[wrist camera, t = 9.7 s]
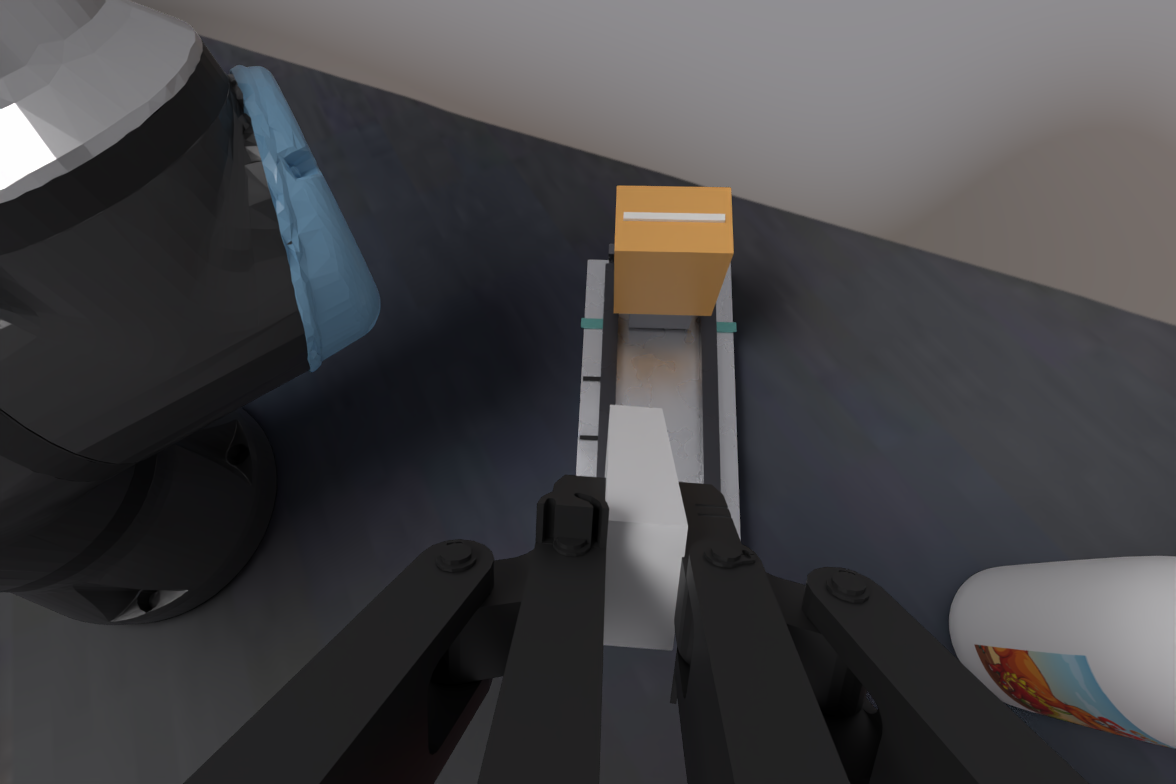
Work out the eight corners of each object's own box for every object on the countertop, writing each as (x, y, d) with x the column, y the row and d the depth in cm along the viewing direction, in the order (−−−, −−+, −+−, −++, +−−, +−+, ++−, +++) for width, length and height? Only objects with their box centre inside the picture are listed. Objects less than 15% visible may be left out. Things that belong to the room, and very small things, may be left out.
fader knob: (703, 336, 39) (734, 251, 30) (613, 333, 39) (614, 248, 30) (702, 283, 40) (731, 184, 31) (615, 280, 41) (616, 183, 31)
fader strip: (739, 600, 36) (752, 601, 32) (568, 592, 36) (564, 591, 33) (728, 274, 43) (738, 246, 40) (586, 270, 44) (584, 243, 40)
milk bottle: (919, 591, 36) (1265, 583, 17) (1033, 549, 36) (1493, 496, 17) (987, 728, 33) (1484, 899, 14) (1108, 681, 34) (1741, 786, 15)
